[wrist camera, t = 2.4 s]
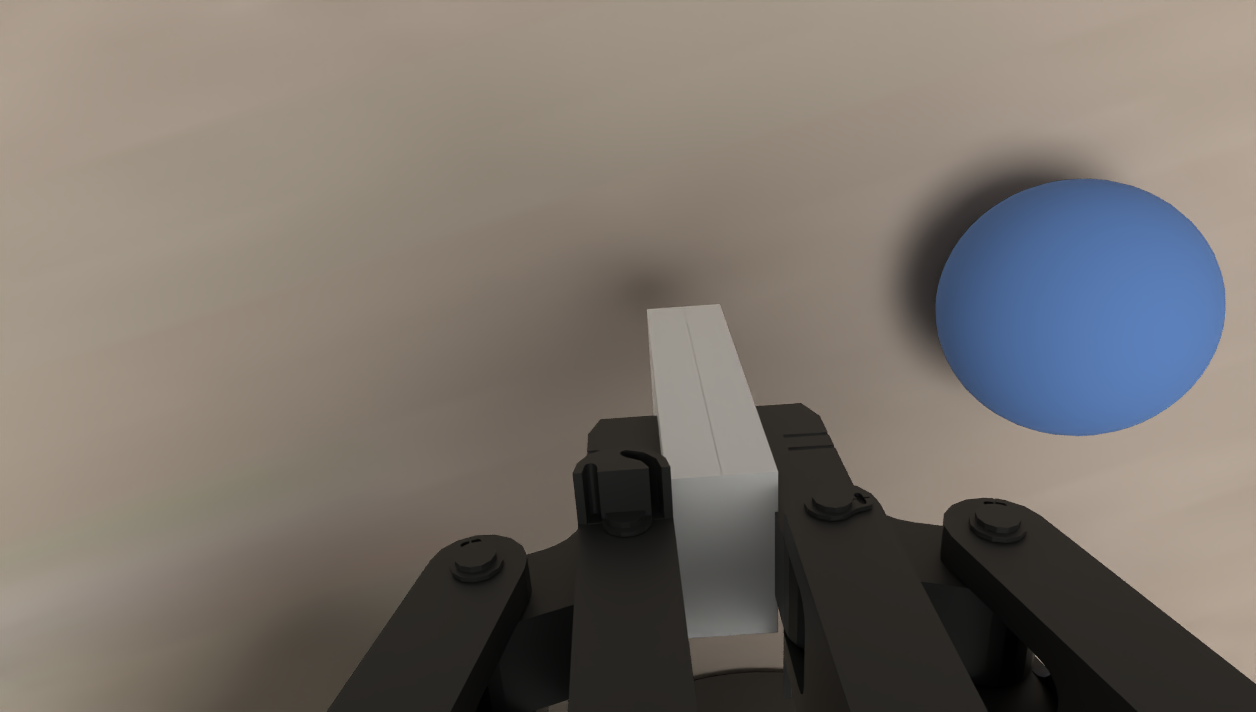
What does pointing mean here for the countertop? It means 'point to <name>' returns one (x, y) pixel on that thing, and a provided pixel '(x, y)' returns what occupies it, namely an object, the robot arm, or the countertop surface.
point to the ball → (1080, 307)
